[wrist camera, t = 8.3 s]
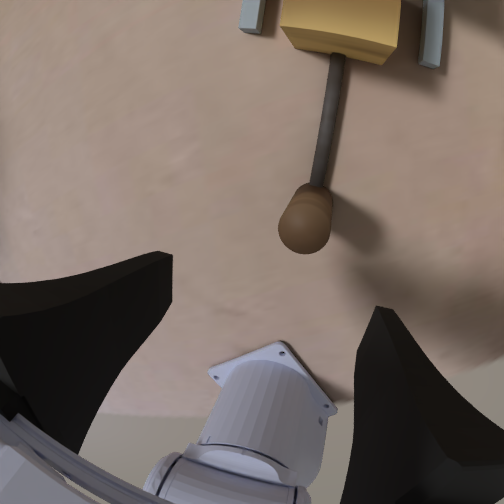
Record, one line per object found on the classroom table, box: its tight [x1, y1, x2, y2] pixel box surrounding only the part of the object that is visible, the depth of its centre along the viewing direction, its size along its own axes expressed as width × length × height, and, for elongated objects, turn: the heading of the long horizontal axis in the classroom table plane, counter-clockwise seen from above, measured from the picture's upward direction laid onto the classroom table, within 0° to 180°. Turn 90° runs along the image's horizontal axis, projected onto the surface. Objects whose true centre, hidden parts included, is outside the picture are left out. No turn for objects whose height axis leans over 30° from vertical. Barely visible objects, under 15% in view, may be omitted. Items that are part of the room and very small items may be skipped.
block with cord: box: [278, 0, 401, 254], centre depth 14 cm, size 15×5×5 cm, turn 172°
